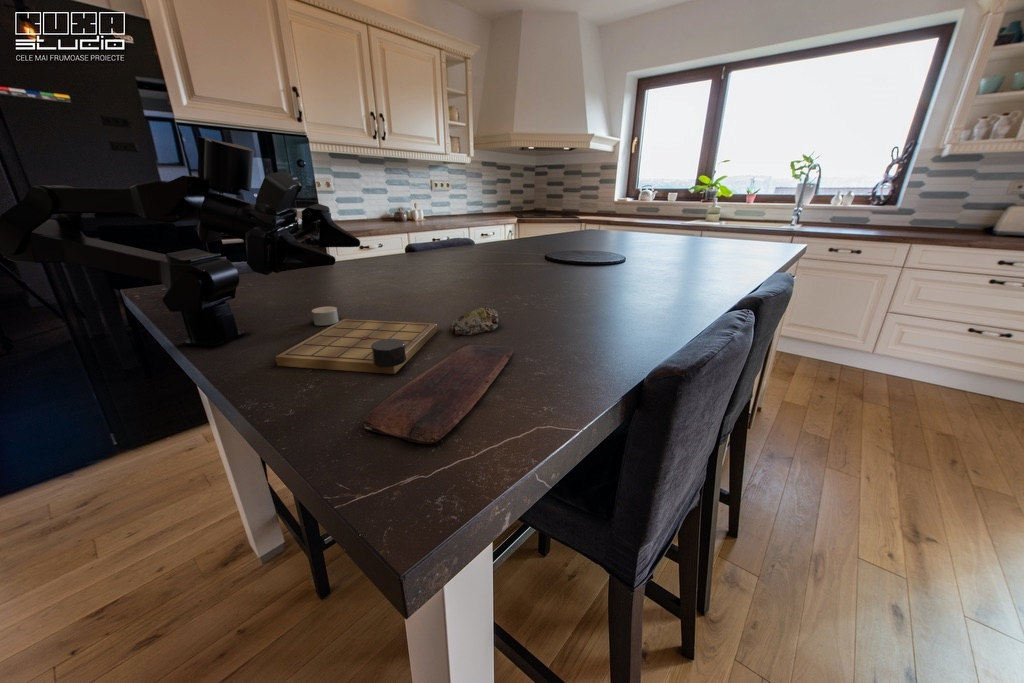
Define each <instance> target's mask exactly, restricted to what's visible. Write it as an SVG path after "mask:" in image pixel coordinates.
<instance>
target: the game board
mask: <svg viewBox="0 0 1024 683" xmlns="http://www.w3.org/2000/svg"><path fill="white" fill-rule="evenodd" d="M436 333H438V324H437V323H430V322H429V323H428V322H426V323H425V322H409V321H390V320H389V321H388V320H368V319H350V318H343V319H341V320H339V321H338V322H337V323H335V324H331V325H329V327H326V328H325V329H323V330H321V331H319V332H317V333H316V334H314V335H312V336H310V337H309V338H306V339H305V340H304V341H301V342H300V343H299V342H298V344H296V345H294V346H292V347H290V348H288V349H286V350H285V351H283V352H281V353H280V354H278V355H276V356H275V362H276V365H277V367H286V368H287V367H289V368H301V369H302V368H303V369H314V370H315V369H318V370H330V371H344V372H346V371H347V372H358V373H359V372H360V373H373V374H388V375H395V374H397V373H398V371H400V369H401V368H402V367H403V366H404V365H406V364H407V363H408V361H410V359H411V358H412V357H413V356H415V355H416V354H417V352H418V351H419V350H421V349H422V347H423V346H425V344H426V343H427V342H428V341H429V340H430V339H432V337H433V336H434V335H436ZM383 339H400V340H402V341H404V343H405V353H406V360H405V362H404V363H402V364H400V365H397V366H392V367H379V366H376V365H375V364H374V363H373V357H372V350H371V345H372V344H373V343H374V342H376V341H379V340H383Z"/></svg>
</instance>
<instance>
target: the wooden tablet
mask: <svg viewBox="0 0 1024 683" xmlns="http://www.w3.org/2000/svg"><path fill="white" fill-rule="evenodd" d="M513 354H514V347H512V346H505V345H504V346H503V345H485V344H468V345H465V346H463V347H461V348H459V349H457V350H455V351H453V352H452V353H450V354H449V355H448V356H446V357H444V359H442V360H440V361H439V362H438V363H436V364H435V365H433V366H431V367H429V368H428V369H427V370H425V371H424V372H422V373H421V374H420V375H418V376H416V377H415V378H413V379H412V380H411V381H409V382H407V383H406V384H405V385H403V386H402V387H401V388H399V389H397V391H395V392H394V393H392V394H391V395H390V396H388V397H387V398H386V399H385V400H384V401H382V402H381V403H380V404H378V406H376V407H375V408H374V409H372V410H371V411H370V412H369V413H368V414H367V415H366V416H365V417H364V419H363V421H362V427H363V429H365V430H367V431H371V432H373V433H377V434H381V435H388V436H393V437H396V438H400V439H402V440H405V441H407V442H410V443H417V444H421V445H431V444H435V443H437V442H439V441H440V440H441V439H443V438H444V437H445V436H447V434H448V433H449V432H450V431H451V430H452V429H453V428H454V427H455V426H457V424H459V423H460V421H462V419H464V417H465V416H466V415H467V414H468V413H469V412H470V411H471V410H472V409H473V408H474V407H475V405H476V404H477V403H478V401H480V399H481V398H482V396H483V395H484V394H485V393H486V392H487V390H488V388H489V387H490V386H491V384H492V383H493V382H494V381H495V380H496V378H497V377H498V375H499V374H500V373H501V372H502V370H503V369H504V367H505V366H506V364H507V363H508V362H509V360H510V359H511V357H512V355H513Z"/></svg>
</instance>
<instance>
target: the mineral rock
mask: <svg viewBox="0 0 1024 683" xmlns="http://www.w3.org/2000/svg"><path fill="white" fill-rule="evenodd" d="M499 323H500V322H499V315H498V311H497V310H496V309H493V308H491V309H490V308H489V307H484V308H483V307H478V308H476V309H474V310H473V311H467V312H465V313H463V315H461V316H459V317H458V318H457V319H455V321H453V322H452V324H451V325H450V328H451V332H452V333H453V334H455V336H472V335H478V334H480V333H485V332H492V331H495V330H496V328H498V325H499Z"/></svg>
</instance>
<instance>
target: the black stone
mask: <svg viewBox="0 0 1024 683" xmlns="http://www.w3.org/2000/svg"><path fill="white" fill-rule="evenodd" d="M371 350H372V357H373V363H374V364H375V365H376V366H379V367H392V366H397V365H400V364H402V363H404V362H405V360H406V353H405V343H404V341H402V340H400V339H383V340H379V341H376V342H374V343H373V344H372V345H371Z"/></svg>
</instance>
